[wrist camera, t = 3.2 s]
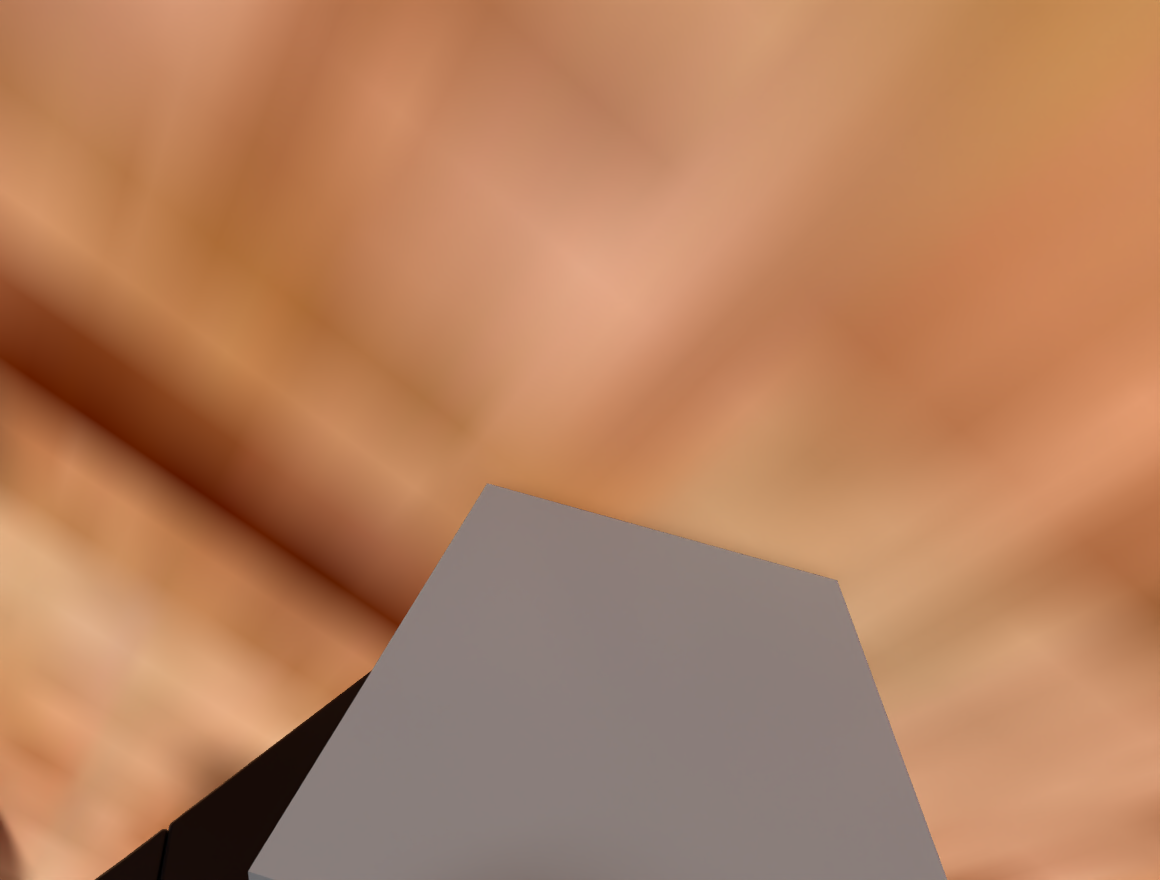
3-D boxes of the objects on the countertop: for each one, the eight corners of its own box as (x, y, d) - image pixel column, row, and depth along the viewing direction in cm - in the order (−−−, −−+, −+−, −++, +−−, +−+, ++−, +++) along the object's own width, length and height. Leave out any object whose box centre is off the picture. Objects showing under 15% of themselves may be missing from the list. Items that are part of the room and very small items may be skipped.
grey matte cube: (837, 580, 8) (1036, 1123, 3) (719, 795, 10) (747, 1288, 6) (486, 483, 8) (246, 872, 4) (449, 714, 10) (272, 1126, 6)
